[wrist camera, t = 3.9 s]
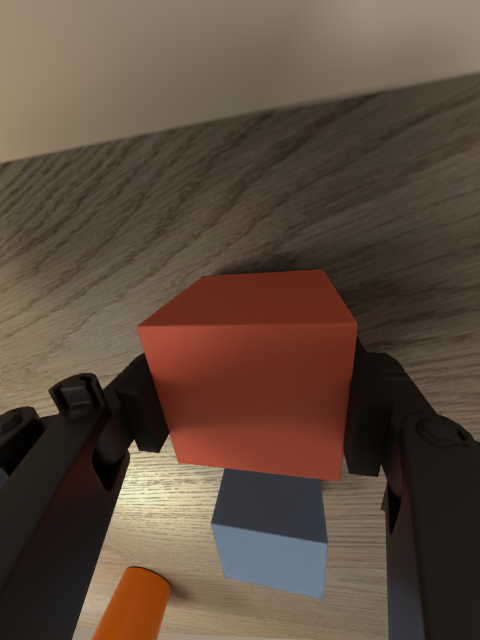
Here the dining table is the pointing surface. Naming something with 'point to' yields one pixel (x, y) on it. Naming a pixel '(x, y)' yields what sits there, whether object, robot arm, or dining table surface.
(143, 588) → the shaker bottle
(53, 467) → the robot arm
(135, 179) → the dining table surface
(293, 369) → the red block
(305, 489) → the blue block
